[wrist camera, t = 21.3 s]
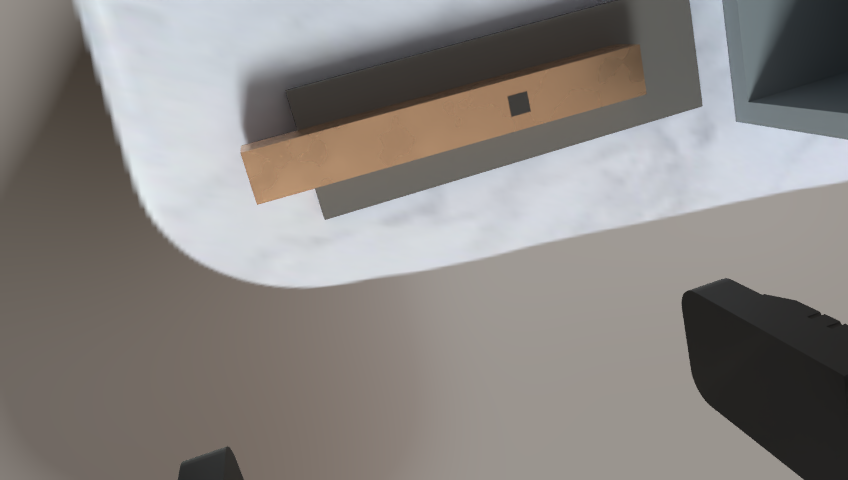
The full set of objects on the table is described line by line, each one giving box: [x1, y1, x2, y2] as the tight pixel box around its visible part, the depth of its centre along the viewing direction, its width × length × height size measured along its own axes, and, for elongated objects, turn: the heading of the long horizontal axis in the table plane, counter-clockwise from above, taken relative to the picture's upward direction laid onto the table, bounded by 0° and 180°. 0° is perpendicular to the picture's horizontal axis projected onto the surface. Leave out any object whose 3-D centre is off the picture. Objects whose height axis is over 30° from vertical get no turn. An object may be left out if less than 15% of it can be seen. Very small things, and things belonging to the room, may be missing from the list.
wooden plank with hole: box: [241, 44, 647, 205], centre depth 43 cm, size 24×3×3 cm, turn 104°
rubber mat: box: [285, 0, 702, 220], centre depth 46 cm, size 26×8×1 cm, turn 104°
